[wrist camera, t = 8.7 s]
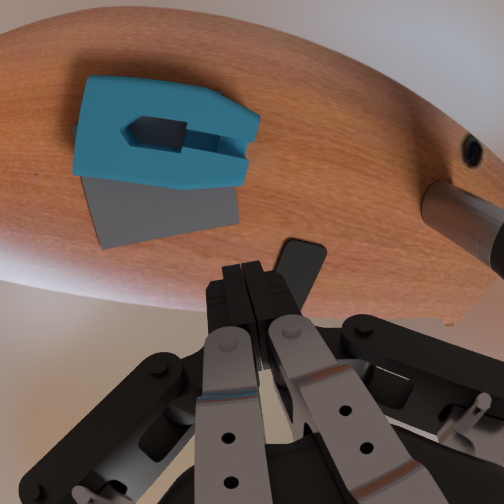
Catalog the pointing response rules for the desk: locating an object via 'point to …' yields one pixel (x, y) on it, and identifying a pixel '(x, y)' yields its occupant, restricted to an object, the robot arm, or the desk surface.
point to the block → (158, 156)
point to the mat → (155, 197)
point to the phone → (300, 267)
